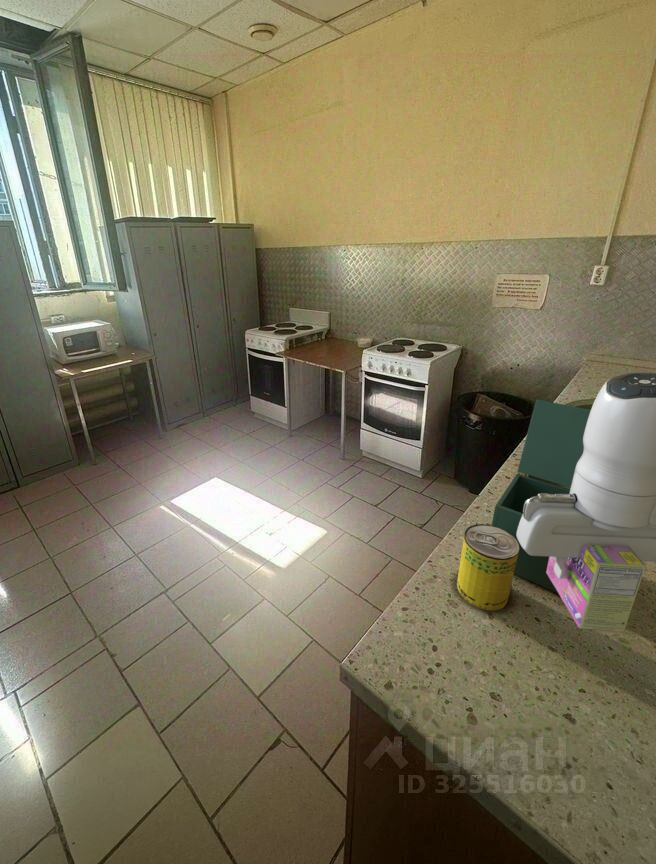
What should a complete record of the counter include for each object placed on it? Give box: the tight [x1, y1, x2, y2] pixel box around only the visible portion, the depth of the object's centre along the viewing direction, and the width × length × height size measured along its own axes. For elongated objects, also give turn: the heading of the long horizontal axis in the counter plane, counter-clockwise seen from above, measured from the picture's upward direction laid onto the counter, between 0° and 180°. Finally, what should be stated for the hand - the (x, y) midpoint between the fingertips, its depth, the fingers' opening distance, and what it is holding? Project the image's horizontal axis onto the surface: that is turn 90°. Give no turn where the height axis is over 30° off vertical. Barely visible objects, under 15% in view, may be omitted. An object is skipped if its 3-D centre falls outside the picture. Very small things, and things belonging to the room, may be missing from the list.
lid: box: [516, 399, 591, 489], centre depth 83 cm, size 17×16×1 cm
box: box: [546, 545, 647, 633], centre depth 56 cm, size 10×6×12 cm, turn 172°
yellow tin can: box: [456, 523, 519, 611], centre depth 73 cm, size 9×9×12 cm
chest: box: [491, 472, 571, 595], centre depth 81 cm, size 16×16×14 cm
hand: (587, 576), depth 57 cm, fingers closed on box, 5 cm apart
